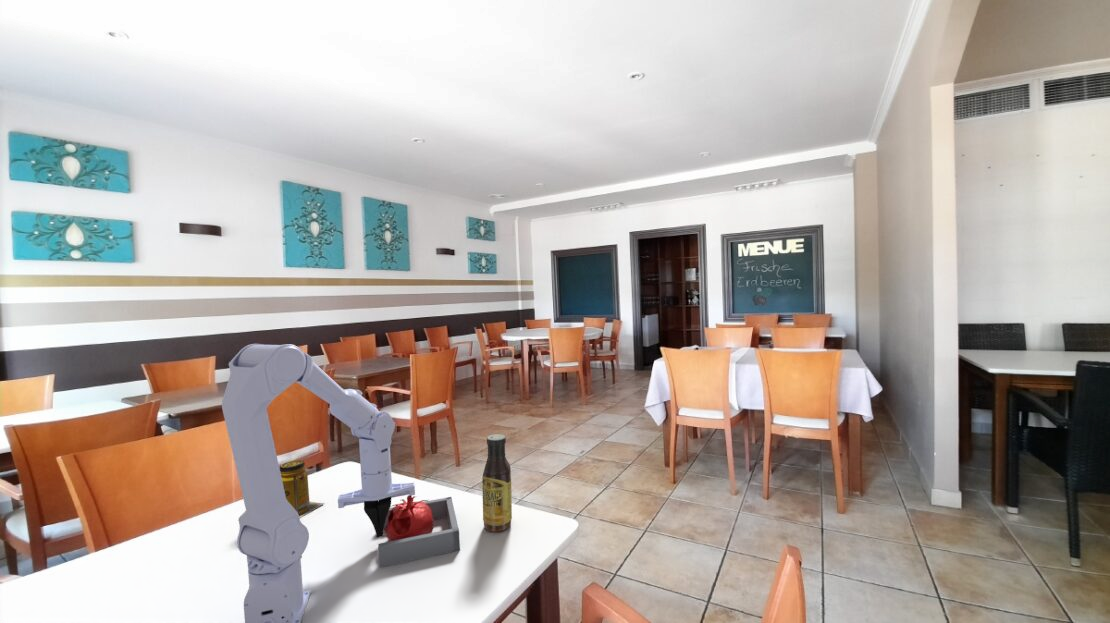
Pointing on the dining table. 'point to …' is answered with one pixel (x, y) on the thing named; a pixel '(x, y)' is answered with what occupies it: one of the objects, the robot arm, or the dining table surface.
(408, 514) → the pomegranate
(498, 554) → the dining table surface
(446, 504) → the tray
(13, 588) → the dining table surface
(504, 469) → the sauce bottle
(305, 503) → the condiment
